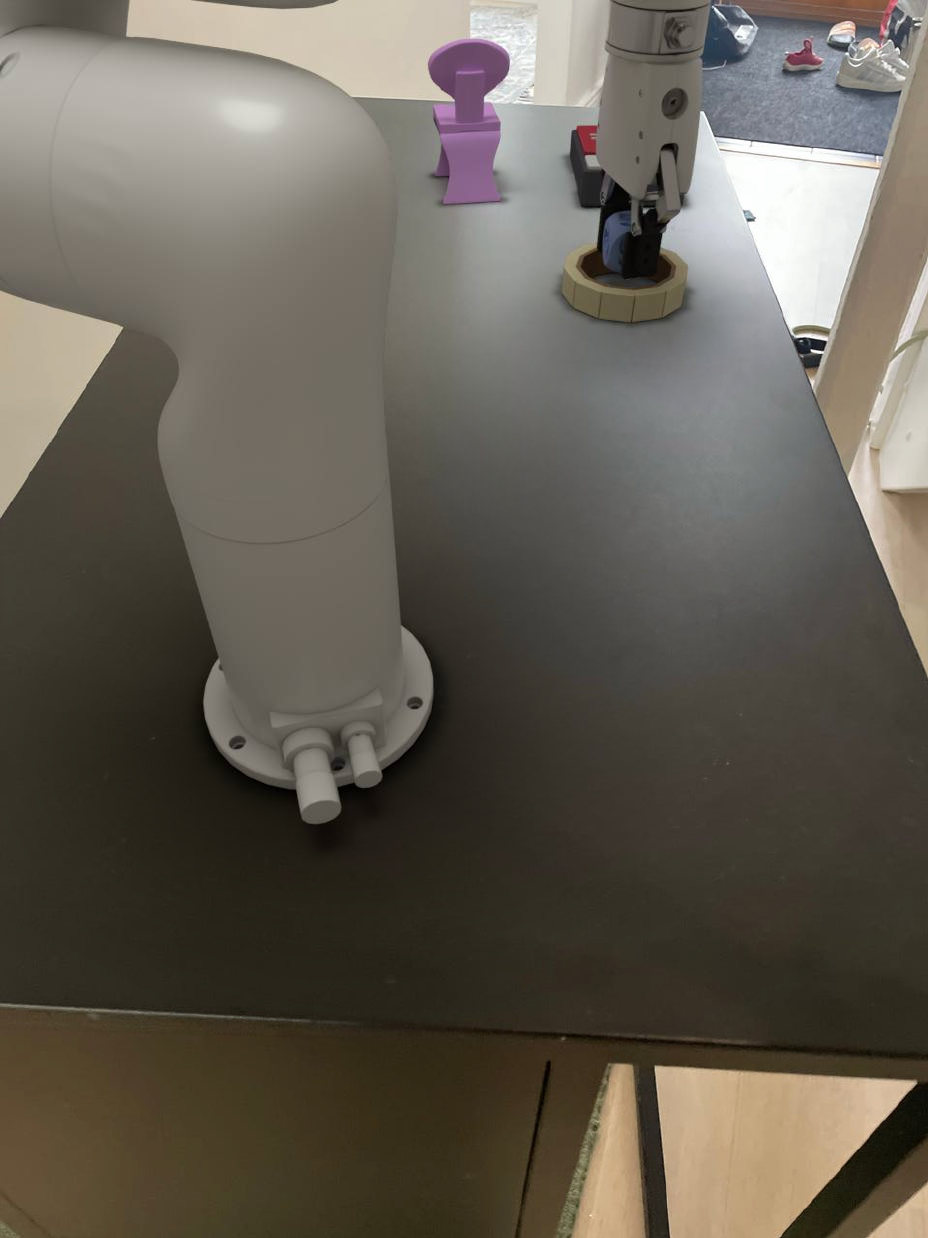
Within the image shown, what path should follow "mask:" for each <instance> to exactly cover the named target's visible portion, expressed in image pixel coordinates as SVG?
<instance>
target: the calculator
mask: <svg viewBox="0 0 928 1238" xmlns="http://www.w3.org/2000/svg"><path fill="white" fill-rule="evenodd" d="M597 126H598V124H597V125H590V124H589V125H586V124H585V125H576V129H572V130H571V134H570V146H569V147H570V148H569V159H570V163H571V166H572V170H573V174H574V177H575V180H576V185H577V194H578V199H579V202H580V205H581V206H585V207H586V206H587V207H588V206H589V207H593V206H594V207H595V206H600V207H601V206H606V205H602V204H601V201H600V193H601V189H602V184H603V181H602V177H601V174H600V172H601V170H602V167H601V166H600V165H599V163H598V161H597V158H596V138H597ZM656 191H658V189H657V185H651V186H647V190H646V192H647V193H648V192H656ZM679 196H680V204H681V206H682V205H683V204H684V198H685V195H679ZM629 203H631V202H629ZM643 206H656V201H652V202H644V203H643Z"/></svg>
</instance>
